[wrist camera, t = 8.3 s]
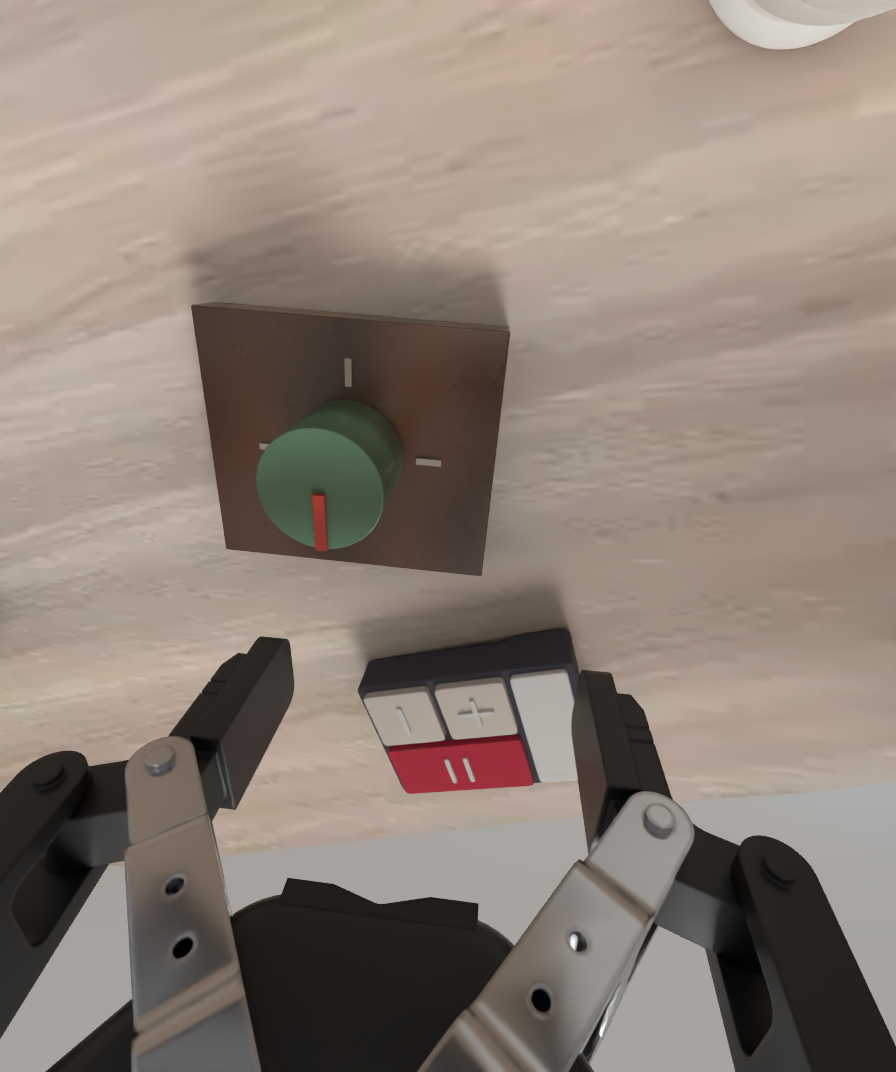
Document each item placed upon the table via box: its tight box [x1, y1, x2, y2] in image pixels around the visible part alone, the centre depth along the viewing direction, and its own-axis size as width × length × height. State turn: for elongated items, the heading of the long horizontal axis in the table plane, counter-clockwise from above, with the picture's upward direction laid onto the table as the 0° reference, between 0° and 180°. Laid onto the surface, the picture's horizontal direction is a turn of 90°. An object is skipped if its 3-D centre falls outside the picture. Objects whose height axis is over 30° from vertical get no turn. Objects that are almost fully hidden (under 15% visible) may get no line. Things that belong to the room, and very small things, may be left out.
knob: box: [256, 400, 404, 551], centre depth 26 cm, size 6×6×6 cm
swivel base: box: [191, 302, 510, 576], centre depth 30 cm, size 16×14×3 cm
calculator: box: [358, 629, 580, 794], centre depth 38 cm, size 11×4×15 cm
